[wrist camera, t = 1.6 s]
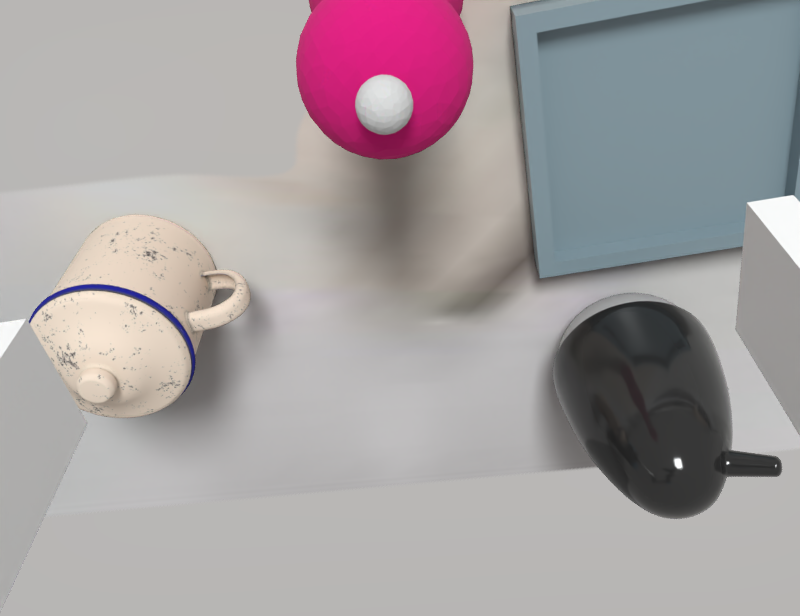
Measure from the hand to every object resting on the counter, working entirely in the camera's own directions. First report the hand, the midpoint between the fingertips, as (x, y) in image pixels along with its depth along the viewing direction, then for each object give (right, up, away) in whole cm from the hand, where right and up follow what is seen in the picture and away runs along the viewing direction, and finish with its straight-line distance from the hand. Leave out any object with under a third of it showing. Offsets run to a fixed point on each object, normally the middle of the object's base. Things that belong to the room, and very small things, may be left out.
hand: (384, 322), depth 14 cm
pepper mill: (0, +18, +25) cm, 30 cm away
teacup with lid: (-14, +3, +35) cm, 38 cm away
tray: (+15, +11, +30) cm, 35 cm away
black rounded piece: (+15, -1, +38) cm, 41 cm away
